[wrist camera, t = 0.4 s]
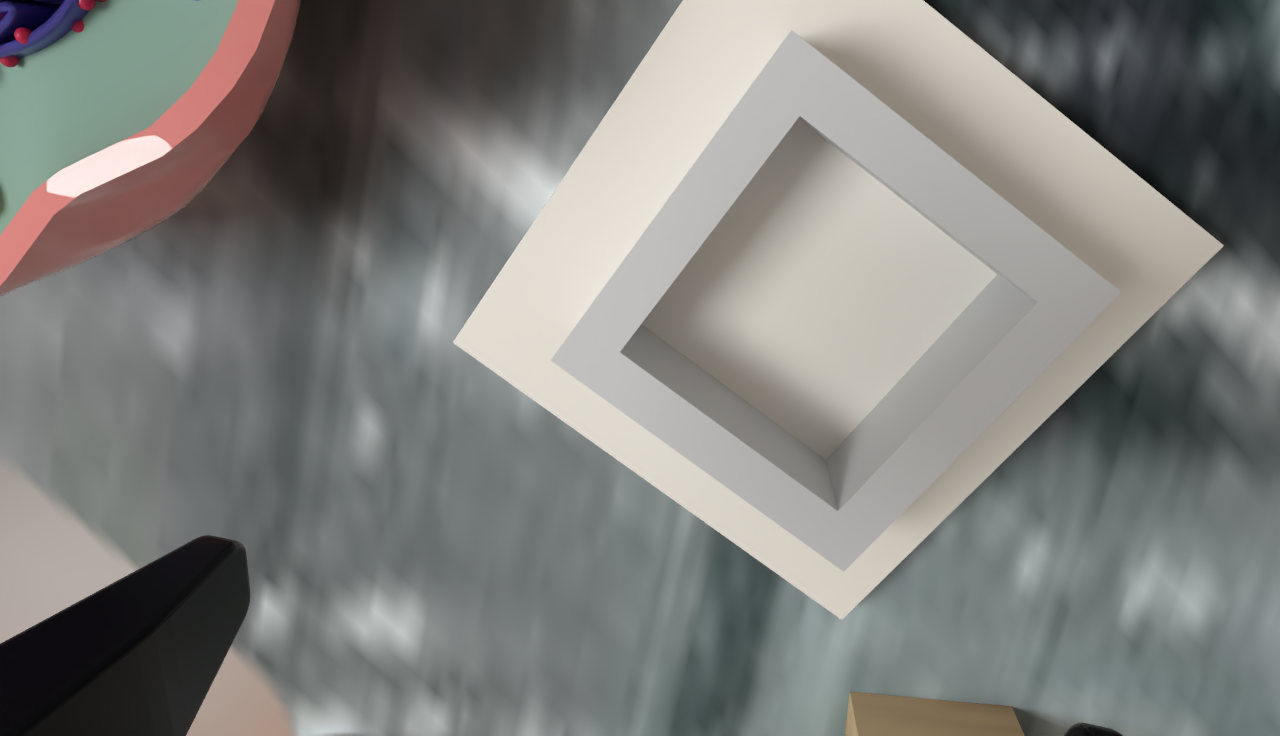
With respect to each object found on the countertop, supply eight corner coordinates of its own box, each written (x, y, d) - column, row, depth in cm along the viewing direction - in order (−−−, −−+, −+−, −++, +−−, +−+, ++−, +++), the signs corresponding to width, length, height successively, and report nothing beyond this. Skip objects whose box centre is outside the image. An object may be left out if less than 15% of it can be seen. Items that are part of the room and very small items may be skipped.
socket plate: (838, 600, 25) (855, 688, 21) (464, 332, 24) (412, 376, 20) (1202, 238, 21) (1304, 270, 17) (766, -116, 19) (772, -167, 16)
